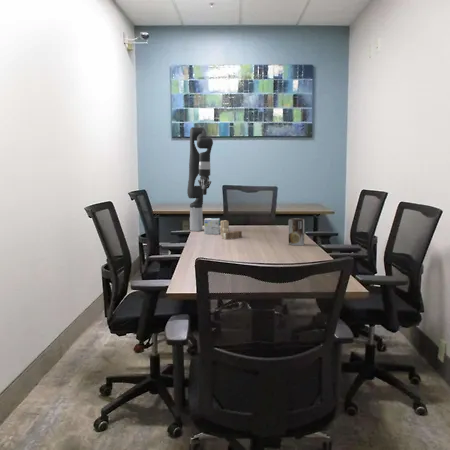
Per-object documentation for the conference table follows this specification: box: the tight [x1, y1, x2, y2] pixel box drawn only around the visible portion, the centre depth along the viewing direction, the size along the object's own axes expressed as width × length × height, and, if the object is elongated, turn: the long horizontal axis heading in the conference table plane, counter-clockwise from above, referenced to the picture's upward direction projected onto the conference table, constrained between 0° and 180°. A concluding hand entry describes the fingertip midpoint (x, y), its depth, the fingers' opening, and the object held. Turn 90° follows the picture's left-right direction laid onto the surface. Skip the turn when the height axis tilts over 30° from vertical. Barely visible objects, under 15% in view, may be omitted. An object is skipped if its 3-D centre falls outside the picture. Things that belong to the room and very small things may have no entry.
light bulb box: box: [203, 217, 221, 235], centre depth 325 cm, size 11×7×11 cm, turn 84°
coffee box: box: [287, 217, 306, 246], centre depth 281 cm, size 9×6×16 cm
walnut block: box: [221, 230, 243, 240], centre depth 307 cm, size 4×4×14 cm
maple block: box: [220, 219, 230, 236], centre depth 318 cm, size 4×4×10 cm
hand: (204, 194), depth 303 cm, fingers closed
